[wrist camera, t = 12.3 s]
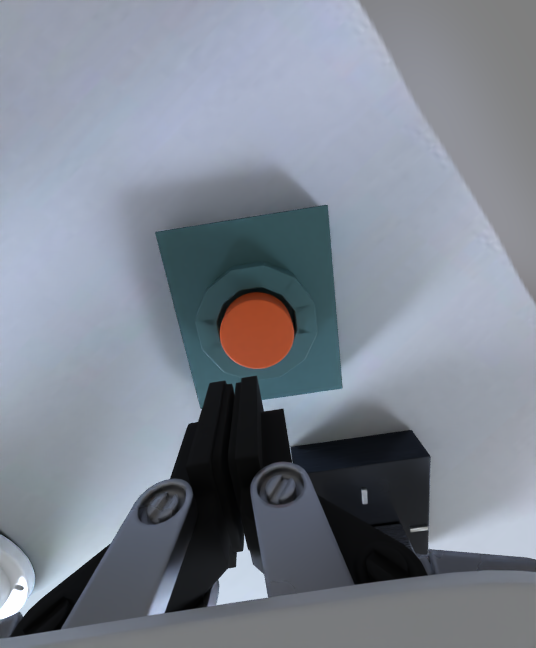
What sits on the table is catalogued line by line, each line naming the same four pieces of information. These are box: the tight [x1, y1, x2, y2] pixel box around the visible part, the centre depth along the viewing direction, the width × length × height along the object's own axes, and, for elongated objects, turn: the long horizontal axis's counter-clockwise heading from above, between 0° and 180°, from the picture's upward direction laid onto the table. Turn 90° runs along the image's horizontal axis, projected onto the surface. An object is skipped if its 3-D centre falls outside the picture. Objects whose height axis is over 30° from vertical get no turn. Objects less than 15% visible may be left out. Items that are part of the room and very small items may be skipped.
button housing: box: [155, 205, 342, 409], centre depth 20 cm, size 12×10×4 cm
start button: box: [220, 292, 294, 369], centre depth 17 cm, size 4×4×2 cm
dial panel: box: [291, 430, 431, 555], centre depth 26 cm, size 14×10×3 cm
